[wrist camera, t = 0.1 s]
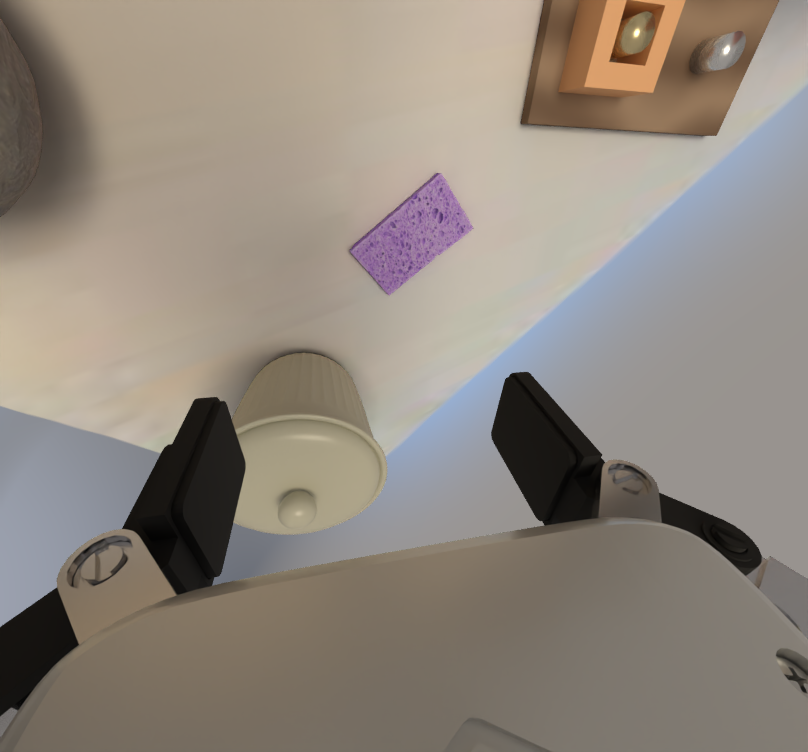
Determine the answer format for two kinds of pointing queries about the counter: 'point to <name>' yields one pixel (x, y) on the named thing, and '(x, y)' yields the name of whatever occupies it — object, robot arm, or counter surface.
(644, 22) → the short gold cylinder
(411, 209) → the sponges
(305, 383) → the canister
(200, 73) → the counter surface
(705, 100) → the walnut board
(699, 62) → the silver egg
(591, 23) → the collar
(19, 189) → the pot
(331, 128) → the counter surface
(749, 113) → the counter surface
